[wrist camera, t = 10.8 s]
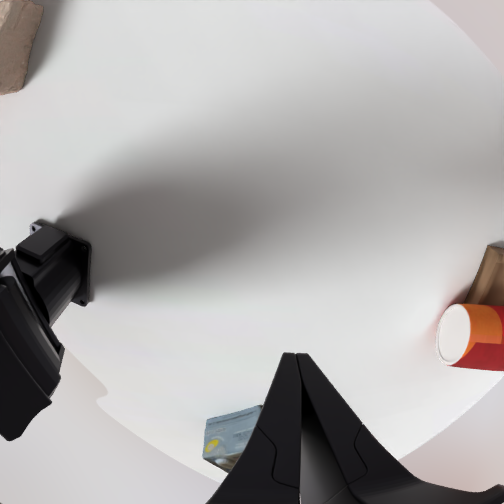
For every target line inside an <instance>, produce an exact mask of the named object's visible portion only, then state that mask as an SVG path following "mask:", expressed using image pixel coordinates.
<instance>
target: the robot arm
mask: <svg viewBox="0 0 504 504" xmlns="http://www.w3.org/2000/svg"><path fill="white" fill-rule="evenodd" d="M35 228H36V229H35ZM84 247H86V249H84ZM90 259H91V245H90V244H89V243H88V242H87V241H84V240H82V239H79V238H76V237H74V236H71V235H69V234H67V233H65V232H63V231H60V230H58V229H55V228H53V227H50V226H48V225H43V224H40V223H38V222H33V223H32V224H31V225H30V236H29V237H27V238H26V239H25V240H23V241H22V242H21V243H19V244H18V245H17V246H16V251H14V249H13V248H11V249H8V250H3V248H0V435H1V436H3V437H4V438H5V439H6V440H7V441H12V440H14V439H16V438H18V437H20V436H21V435H22V434H23V432H24V430H25V429H26V427H27V426H28V424H29V423H30V422H31V420H32V419H33V418H34V417H35V416H36V415H37V414H38V413H39V412H40V411H41V410H43V409H44V408H46V407H47V406H49V405H50V404H51V403H52V401H51V400H50V397H51V396H52V395H53V393H54V391H55V389H56V388H57V386H58V384H59V382H60V379H61V376H60V374H59V372H60V367H61V363H62V359H63V355H64V350H65V348H64V346H63V345H62V343H60V342H59V340H58V339H57V337H56V336H55V334H54V332H53V331H52V329H51V327H52V325H53V324H54V323H55V321H56V320H57V319H58V317H59V316H60V315H61V313H62V312H63V311H64V310H65V308H66V307H67V306H68V304H69V303H70V302H74V303H76V304H78V305H80V306H83V307H85V306H87V304H88V302H89V277H90ZM299 489H300V490H299ZM300 496H301V504H502V503H503V502H504V486H503V485H500V484H498V485H495V486H494V487H492V488H490V489H488V490H486V491H483V492H467V491H462V490H457V489H452V488H448V487H444V486H439V485H435V484H431V483H428V482H425V481H422V480H420V479H418V478H417V477H415V476H414V475H413V474H411V473H410V472H409V471H408V470H407V469H406V468H405V467H404V466H403V465H401V464H400V463H399V462H398V461H397V460H396V459H395V458H394V457H393V456H392V455H391V454H390V453H389V452H388V451H387V450H386V449H385V448H384V447H383V446H382V445H381V444H380V443H379V442H378V441H377V440H376V438H375V437H374V436H373V435H372V434H371V433H370V431H369V430H368V429H367V428H366V426H365V425H364V424H362V422H361V420H360V419H359V418H358V417H357V415H356V414H355V413H354V412H353V410H352V409H351V408H350V407H349V405H348V404H347V403H346V401H345V400H344V399H343V398H342V396H341V395H340V394H339V393H338V391H337V390H336V389H335V388H334V386H333V385H332V384H331V382H330V381H329V380H328V379H327V377H326V376H325V375H324V374H323V372H322V371H321V370H320V368H319V367H318V366H317V365H316V363H315V362H314V361H313V359H312V358H311V357H310V356H309V354H307V353H296V354H295V353H286V352H284V353H283V354H282V357H281V360H280V363H279V365H278V368H277V371H276V373H275V376H274V379H273V381H272V384H271V387H270V389H269V392H268V394H267V397H266V399H265V402H264V405H263V407H262V410H261V412H260V415H259V417H258V419H257V422H256V424H255V427H254V429H253V431H252V434H251V436H250V438H249V440H248V442H247V444H246V447H245V449H244V450H243V452H242V454H241V455H240V457H239V459H238V460H237V462H236V463H235V465H234V466H233V468H232V469H231V471H230V472H229V473H228V475H227V476H226V478H225V479H224V481H223V482H222V484H221V485H220V487H219V488H218V489H217V490H216V492H215V493H214V494H213V496H212V497H211V498H210V499H209V500H208V502H207V503H206V504H300ZM0 504H2V503H0Z"/></svg>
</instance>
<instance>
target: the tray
mask: <svg viewBox="0 0 504 504" xmlns="http://www.w3.org/2000/svg"><path fill="white" fill-rule="evenodd" d="M464 304H477V305H494V306H504V248H499V247H494V246H489V245H488V246H487V249H486V252H485V255H484V257H483V260H482V262H481V265H480V268H479V270H478V272H477V275H476V277H475V280H474V282H473V284H472V287H471V289H470V291H469V293H468V296H467V298H466V300H465V302H464Z"/></svg>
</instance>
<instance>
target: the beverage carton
mask: <svg viewBox="0 0 504 504" xmlns="http://www.w3.org/2000/svg"><path fill="white" fill-rule="evenodd" d="M261 410H262V407H261V406H260V405H258V406H254V407H252V408H248V409H245V410H242V411H238V412H235V413H231V414H227V415H223V416H220V417H215V418H212V419H208V420H207V422H206V429H205V436H204V448H203V454H202V457H203V459H205V460H206V461H208V462H210V463H212V464H213V465H215V466H217V467H219V468H221V469H222V470H224V471H225V472H227V473H229V472H230V471H231V469H232V468H233V466H234V465H235V463H236V462H237V460H238V459H239V457H240V455H241V454H242V452H243V450H244V449H245V447H246V444H247V442H248V440H249V438H250V436H251V434H252V431H253V429H254V427H255V424H256V422H257V419H258V417H259V415H260V412H261ZM299 490H300V489H299Z"/></svg>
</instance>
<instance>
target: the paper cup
mask: <svg viewBox="0 0 504 504" xmlns="http://www.w3.org/2000/svg"><path fill="white" fill-rule="evenodd" d="M435 344H436V352H437V356H438V358H439V360H440V361H441V362H442V363H443V364H444V365H447V366H453V367H460V368H470V369H480V370H491V371H504V306H494V305H477V304H454V305H451V306H450V307H449V308H447V309H446V311H445V312H444V313H443V315H442V317H441V319H440V321H439V324H438V328H437V332H436V341H435Z"/></svg>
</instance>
